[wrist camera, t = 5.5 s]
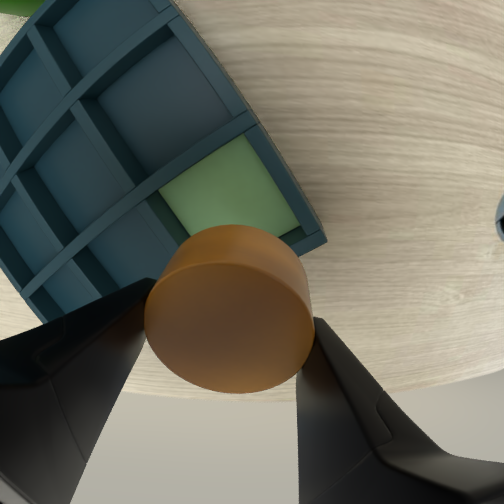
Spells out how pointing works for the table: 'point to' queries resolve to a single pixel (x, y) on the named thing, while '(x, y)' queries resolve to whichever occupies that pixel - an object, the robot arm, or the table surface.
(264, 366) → the cylinder
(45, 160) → the grid
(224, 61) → the table surface
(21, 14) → the tape dispenser
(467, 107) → the table surface
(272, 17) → the table surface
